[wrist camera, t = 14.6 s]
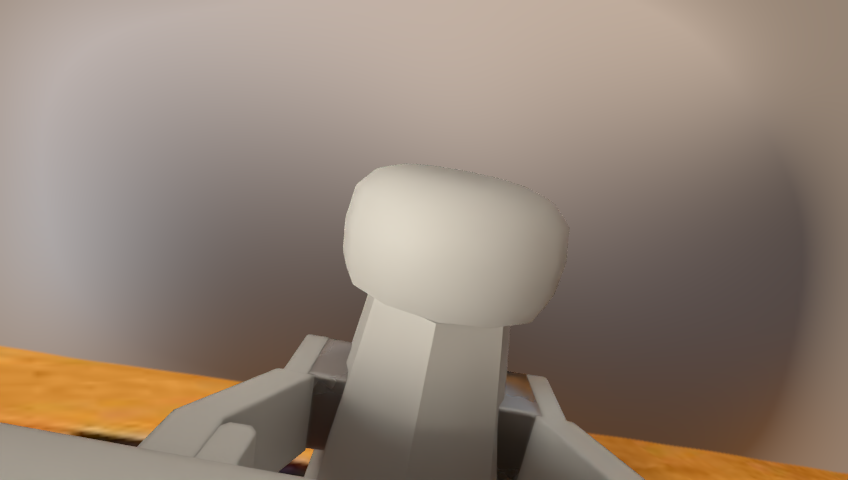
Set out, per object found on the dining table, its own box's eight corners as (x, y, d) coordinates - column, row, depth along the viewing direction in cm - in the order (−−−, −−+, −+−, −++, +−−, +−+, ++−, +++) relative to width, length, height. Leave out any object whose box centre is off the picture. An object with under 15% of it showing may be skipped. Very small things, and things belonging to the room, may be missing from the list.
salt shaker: (409, 511, 15) (486, 167, 11) (518, 702, 10) (696, 219, 7) (240, 585, 11) (278, 135, 8) (287, 914, 7) (415, 194, 4)
